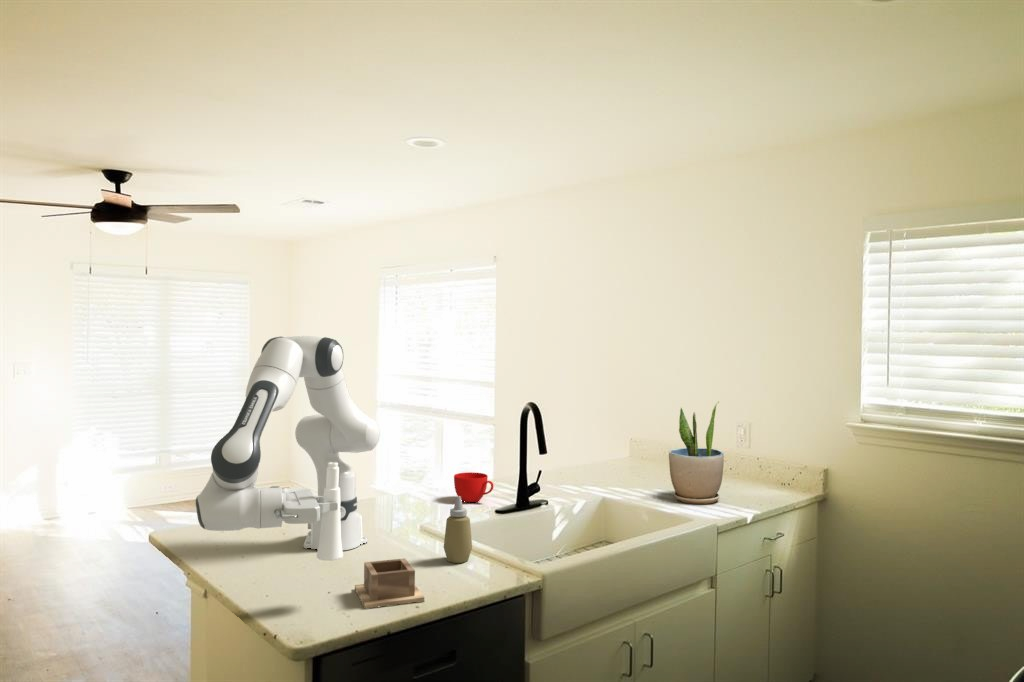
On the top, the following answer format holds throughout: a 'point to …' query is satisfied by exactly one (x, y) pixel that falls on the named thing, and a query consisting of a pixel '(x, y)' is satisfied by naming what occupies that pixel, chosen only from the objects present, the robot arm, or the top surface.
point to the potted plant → (696, 465)
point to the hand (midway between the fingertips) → (335, 503)
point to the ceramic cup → (471, 486)
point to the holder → (388, 584)
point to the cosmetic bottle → (331, 519)
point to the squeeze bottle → (458, 534)
